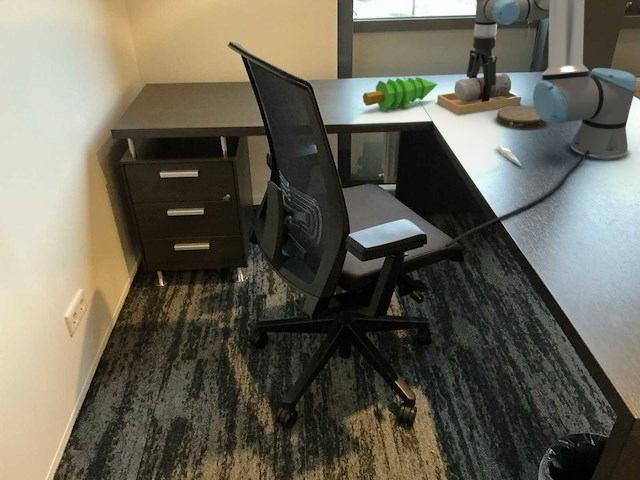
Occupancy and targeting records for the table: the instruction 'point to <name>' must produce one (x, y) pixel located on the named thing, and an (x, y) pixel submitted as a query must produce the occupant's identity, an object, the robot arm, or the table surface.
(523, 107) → the brown wooden disc
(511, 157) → the white toy shark
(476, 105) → the tray
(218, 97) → the table surface
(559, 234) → the table surface
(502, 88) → the spray can
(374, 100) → the decorative tree
